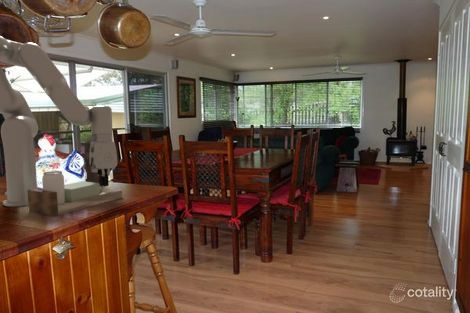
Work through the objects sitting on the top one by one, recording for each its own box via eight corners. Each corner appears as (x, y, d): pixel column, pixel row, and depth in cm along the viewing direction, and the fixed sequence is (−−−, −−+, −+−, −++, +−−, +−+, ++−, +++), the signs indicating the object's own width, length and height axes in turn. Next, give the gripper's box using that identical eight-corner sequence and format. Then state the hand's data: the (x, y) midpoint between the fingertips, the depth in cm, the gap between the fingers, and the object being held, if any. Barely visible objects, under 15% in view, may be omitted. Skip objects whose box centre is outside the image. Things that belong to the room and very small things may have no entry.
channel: (28, 212, 122) (27, 189, 121) (100, 194, 149) (99, 176, 148) (52, 216, 117) (51, 193, 116) (122, 197, 143) (121, 178, 142)
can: (57, 210, 120) (55, 174, 119) (39, 209, 121) (37, 173, 120) (69, 205, 127) (67, 171, 125) (52, 205, 128) (50, 170, 126)
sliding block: (54, 203, 129) (53, 186, 128) (83, 196, 139) (82, 181, 139) (72, 206, 125) (71, 189, 124) (100, 198, 135) (99, 183, 134)
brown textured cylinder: (90, 183, 172) (88, 140, 170) (105, 183, 172) (103, 140, 170) (83, 186, 165) (80, 141, 162) (99, 186, 164) (97, 141, 162)
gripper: (93, 140, 132) (95, 190, 134) (124, 137, 145) (125, 183, 147) (79, 139, 136) (81, 188, 138) (110, 137, 149) (111, 181, 151)
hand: (104, 185), depth 143 cm, fingers closed
